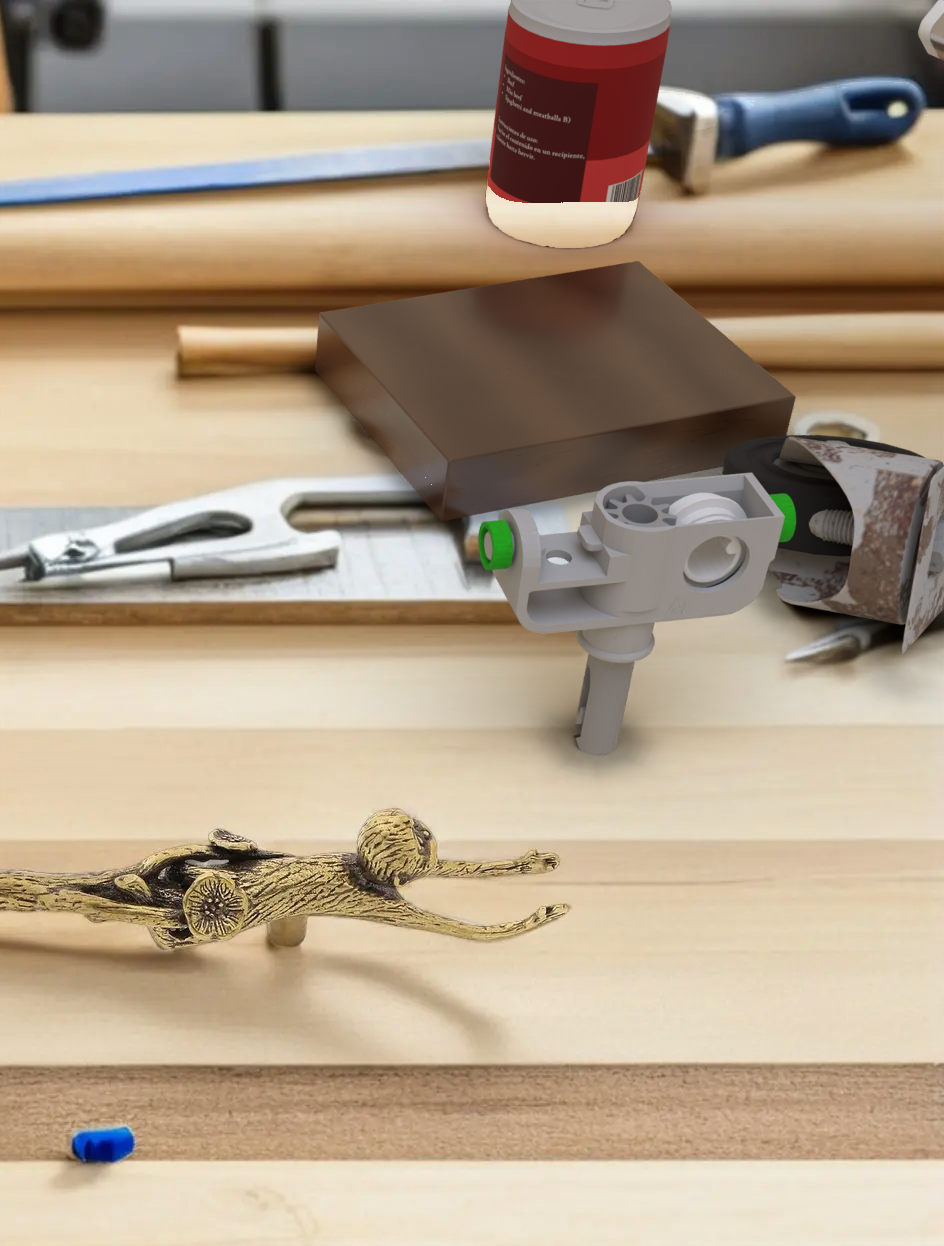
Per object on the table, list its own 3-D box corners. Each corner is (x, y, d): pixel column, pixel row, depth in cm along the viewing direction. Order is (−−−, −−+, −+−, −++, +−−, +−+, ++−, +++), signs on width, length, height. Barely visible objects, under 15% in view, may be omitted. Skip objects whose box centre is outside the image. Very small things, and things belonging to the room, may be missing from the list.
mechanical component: (443, 734, 74) (475, 494, 68) (715, 704, 76) (773, 467, 69) (468, 787, 72) (504, 545, 65) (747, 756, 73) (810, 516, 67)
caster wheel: (749, 528, 89) (992, 572, 84) (653, 606, 80) (917, 659, 75) (770, 373, 86) (1023, 408, 81) (672, 436, 78) (948, 480, 73)
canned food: (628, 189, 109) (665, -26, 101) (641, 258, 102) (681, 35, 95) (480, 181, 109) (507, -34, 102) (484, 250, 103) (512, 27, 96)
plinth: (628, 319, 98) (638, 260, 96) (781, 458, 89) (797, 396, 87) (313, 372, 94) (318, 312, 92) (440, 525, 84) (448, 461, 82)
